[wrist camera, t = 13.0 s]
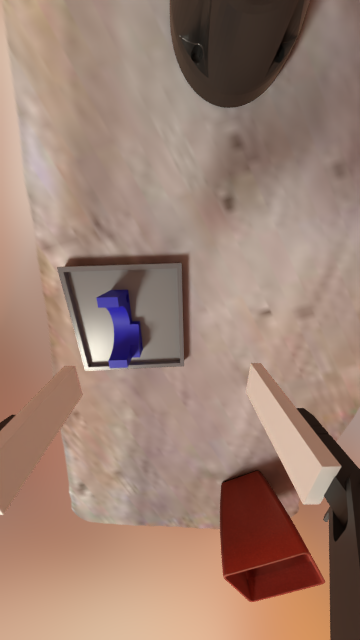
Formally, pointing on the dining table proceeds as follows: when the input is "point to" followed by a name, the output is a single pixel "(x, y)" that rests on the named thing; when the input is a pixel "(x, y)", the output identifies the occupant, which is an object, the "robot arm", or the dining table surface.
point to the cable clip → (122, 328)
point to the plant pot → (261, 542)
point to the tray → (146, 306)
